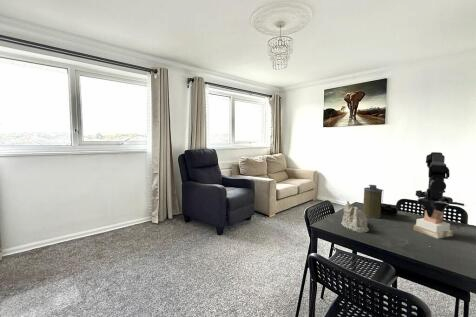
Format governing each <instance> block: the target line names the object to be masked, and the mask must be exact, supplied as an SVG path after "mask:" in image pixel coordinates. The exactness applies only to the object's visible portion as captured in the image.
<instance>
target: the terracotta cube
mask: <svg viewBox="0 0 476 317" xmlns="http://www.w3.org/2000/svg"><path fill="white" fill-rule="evenodd" d="M423 216H424V215H423ZM424 220H426V221H429V222H432V223H435V224H436V223H442V222H444V221H443V220H444V211H443V212H440V211H437V210H434V212H433V214H432V216H431V217H428V215H427V211H426V210H425V216H424Z"/></svg>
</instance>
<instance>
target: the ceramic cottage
mask: <svg viewBox="0 0 476 317" xmlns="http://www.w3.org/2000/svg"><path fill="white" fill-rule="evenodd" d="M341 220H342V221H341V224H342V225H343V226H344V228H345V227H346V229H348V228H349V229H348V230H350V229H351V231H353V232H355V231H356V233H362V234H364V233H367V232H369V231H370V230H369V227H368V221H369V220H368V217H367V216H365V215H364V213H363V209H361V210H360V209H359V208H358V207H356V206H353V205H351V203H350V201H349V200H347V201H346V203H345V205H344V207H343V215H342V219H341ZM342 225H341V226H342ZM343 226H342V227H343Z"/></svg>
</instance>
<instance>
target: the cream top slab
mask: <svg viewBox="0 0 476 317" xmlns="http://www.w3.org/2000/svg"><path fill="white" fill-rule="evenodd" d="M415 225H417V226H420V227H422V228H425V229H428V230H431V231H433V232H442V231H447V230H449V229H450V230H451V228H450V226H451V223H449V222H446V221H443V222H442V223H436V224H435V223H432V222H429V221H426V220H424V218H421V217H420V218H417V219H416V223H415Z"/></svg>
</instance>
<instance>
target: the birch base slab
mask: <svg viewBox="0 0 476 317" xmlns="http://www.w3.org/2000/svg"><path fill="white" fill-rule="evenodd" d="M413 230H414V231H416V232H418V233H420V234H421V233H422V234H424V235H427V236H429V237H431V238H435V239H437V240H438V239H442V238H443V239H444V238H448V237H452V236H454V230H453V229H451V228H450V229H449V230H447V231H442V232H433V231H431V230H428V229H425V228H422V227H420V226H417V225H416V224H414V225H413Z"/></svg>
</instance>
